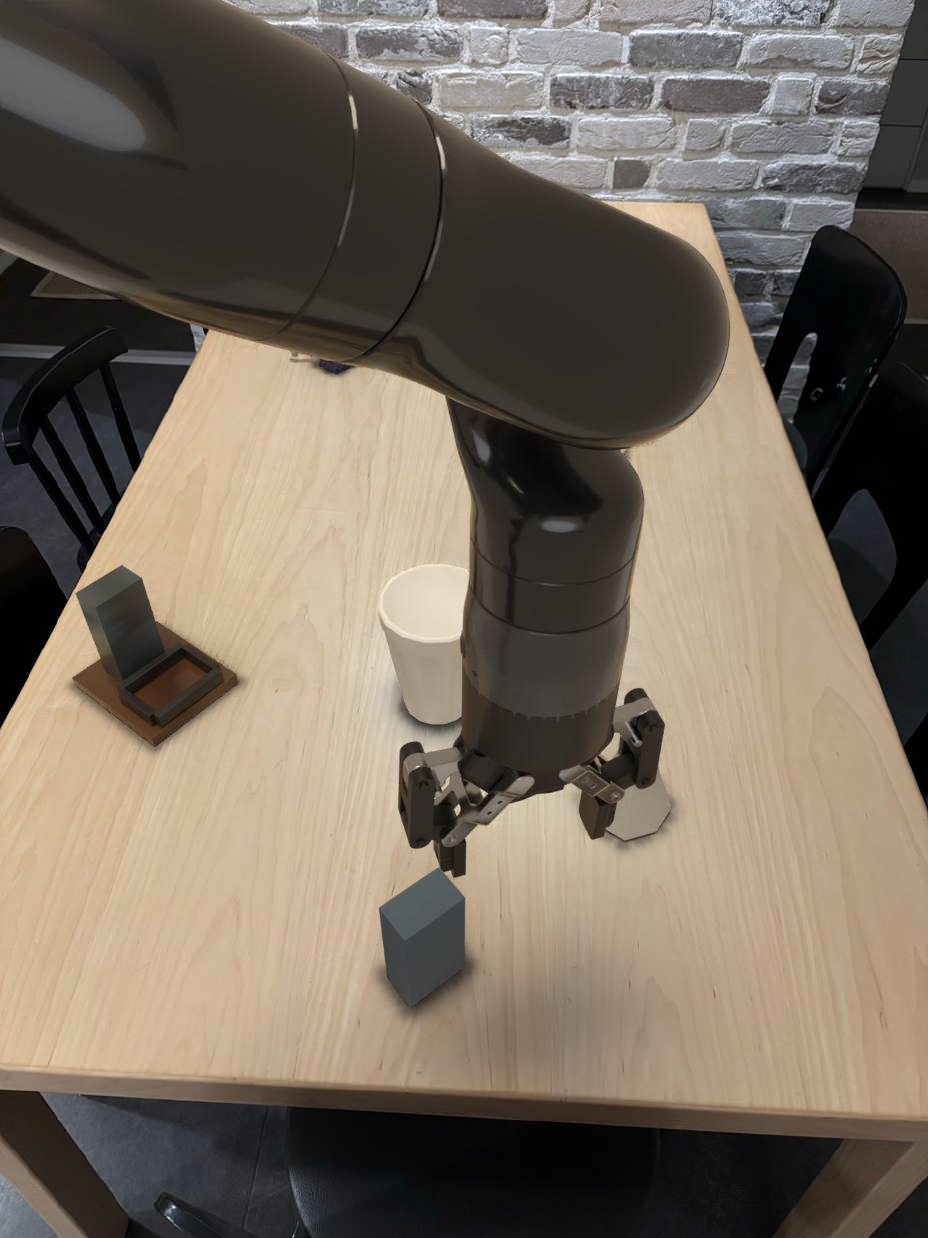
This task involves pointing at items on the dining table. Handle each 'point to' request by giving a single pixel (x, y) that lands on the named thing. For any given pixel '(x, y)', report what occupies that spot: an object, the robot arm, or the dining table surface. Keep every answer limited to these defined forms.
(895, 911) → the dining table surface
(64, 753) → the dining table surface
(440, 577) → the cup
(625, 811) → the flask
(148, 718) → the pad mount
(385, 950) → the back pad
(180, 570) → the dining table surface
